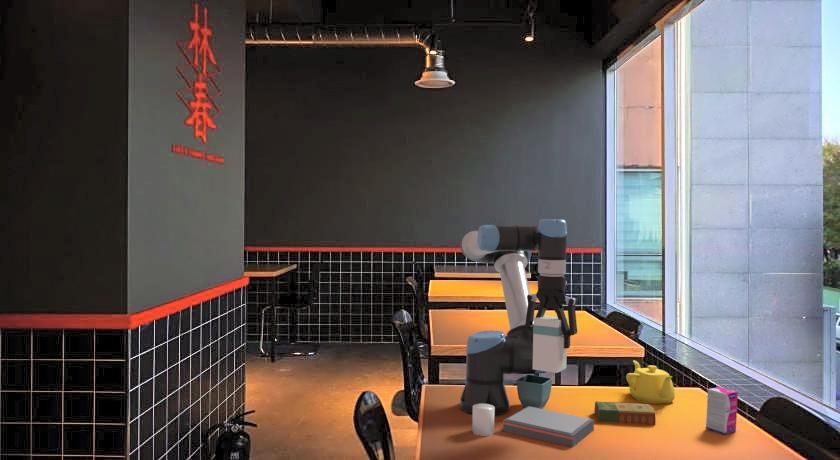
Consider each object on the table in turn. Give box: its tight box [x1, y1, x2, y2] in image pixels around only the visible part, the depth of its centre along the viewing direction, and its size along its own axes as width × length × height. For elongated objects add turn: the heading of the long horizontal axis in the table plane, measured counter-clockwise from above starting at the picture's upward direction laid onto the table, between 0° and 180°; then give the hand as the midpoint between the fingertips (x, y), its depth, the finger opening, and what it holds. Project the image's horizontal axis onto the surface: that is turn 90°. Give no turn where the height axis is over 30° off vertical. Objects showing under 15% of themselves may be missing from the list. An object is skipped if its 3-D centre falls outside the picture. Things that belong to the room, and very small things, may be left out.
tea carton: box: [533, 315, 568, 374], centre depth 171 cm, size 7×7×14 cm
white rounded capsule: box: [471, 404, 496, 437], centre depth 170 cm, size 6×6×7 cm
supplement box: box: [705, 386, 739, 435], centre depth 175 cm, size 6×6×12 cm
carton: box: [593, 401, 657, 426], centre depth 183 cm, size 8×16×4 cm, turn 82°
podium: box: [502, 406, 595, 448], centre depth 172 cm, size 20×16×3 cm
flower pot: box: [515, 374, 553, 409], centre depth 193 cm, size 9×9×9 cm
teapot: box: [625, 360, 676, 405], centre depth 204 cm, size 22×16×11 cm
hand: (550, 357), depth 172 cm, fingers closed on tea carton, 7 cm apart
